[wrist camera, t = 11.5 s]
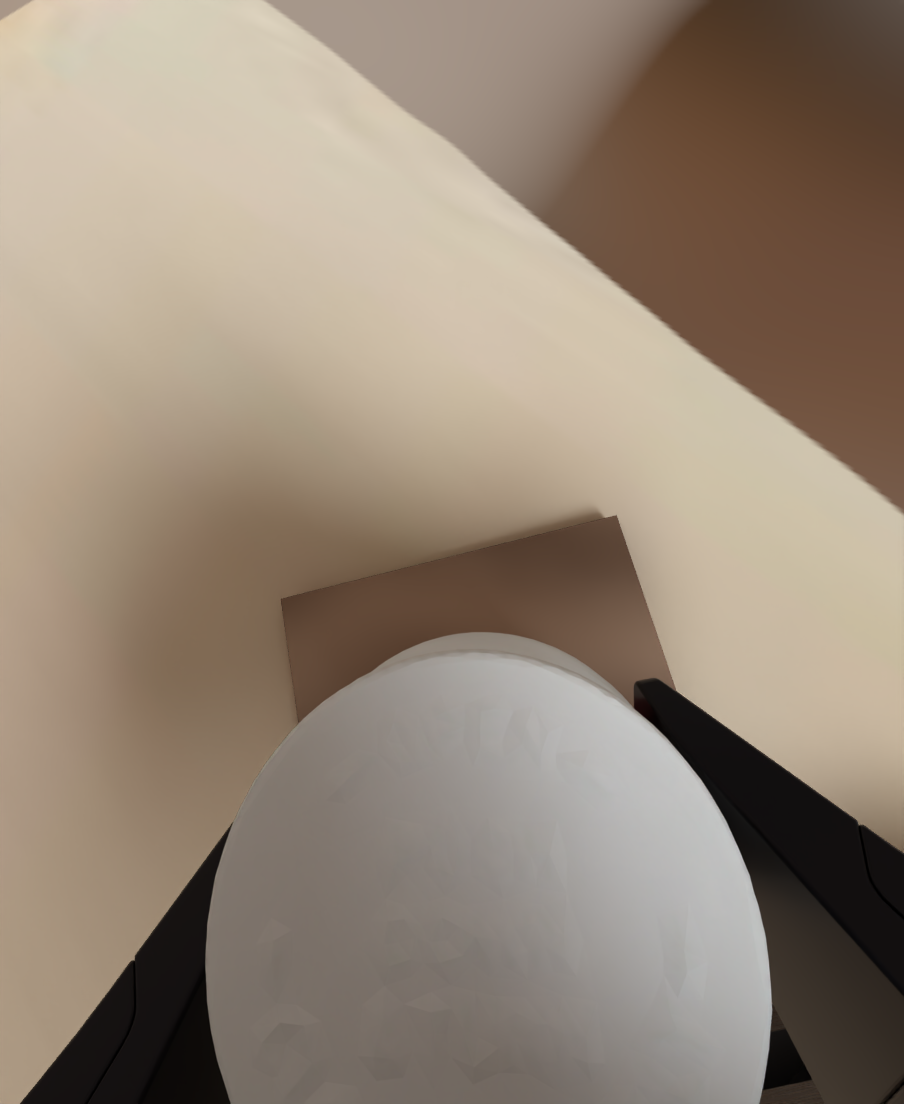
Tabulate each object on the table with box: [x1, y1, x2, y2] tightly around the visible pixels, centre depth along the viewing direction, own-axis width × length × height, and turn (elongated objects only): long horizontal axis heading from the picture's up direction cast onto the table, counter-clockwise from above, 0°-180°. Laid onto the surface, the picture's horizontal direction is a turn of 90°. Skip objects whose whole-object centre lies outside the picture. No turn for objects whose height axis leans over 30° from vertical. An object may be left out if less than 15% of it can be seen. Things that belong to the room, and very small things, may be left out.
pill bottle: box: [205, 632, 772, 1104], centre depth 10 cm, size 6×6×11 cm
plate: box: [281, 515, 676, 723], centre depth 17 cm, size 13×13×1 cm
